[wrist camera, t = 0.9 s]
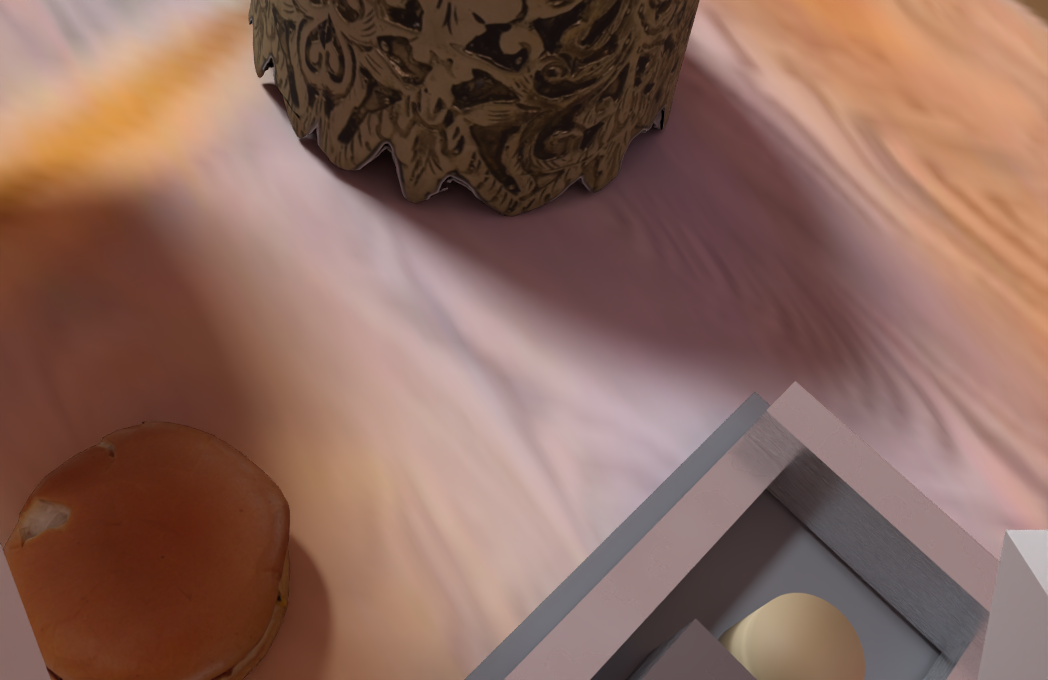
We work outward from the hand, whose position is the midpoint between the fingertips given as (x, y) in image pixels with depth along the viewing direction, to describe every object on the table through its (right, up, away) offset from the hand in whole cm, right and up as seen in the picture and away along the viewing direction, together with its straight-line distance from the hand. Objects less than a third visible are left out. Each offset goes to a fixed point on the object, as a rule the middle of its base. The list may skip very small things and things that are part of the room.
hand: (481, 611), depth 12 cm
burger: (-13, -5, +22) cm, 26 cm away
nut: (+9, -9, +22) cm, 25 cm away
